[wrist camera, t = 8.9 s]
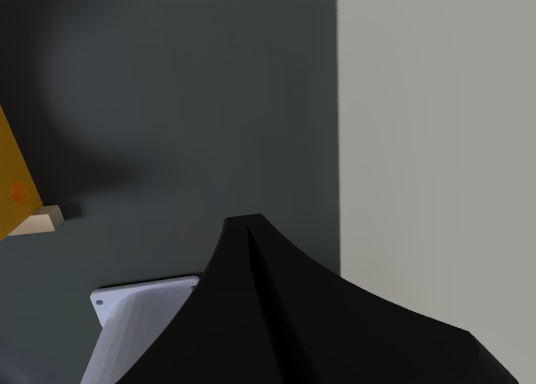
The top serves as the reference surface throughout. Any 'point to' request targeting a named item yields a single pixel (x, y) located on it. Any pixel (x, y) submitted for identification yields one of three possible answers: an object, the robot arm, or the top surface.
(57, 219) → the rail channel
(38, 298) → the top surface
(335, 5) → the top surface
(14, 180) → the pipe clamp
